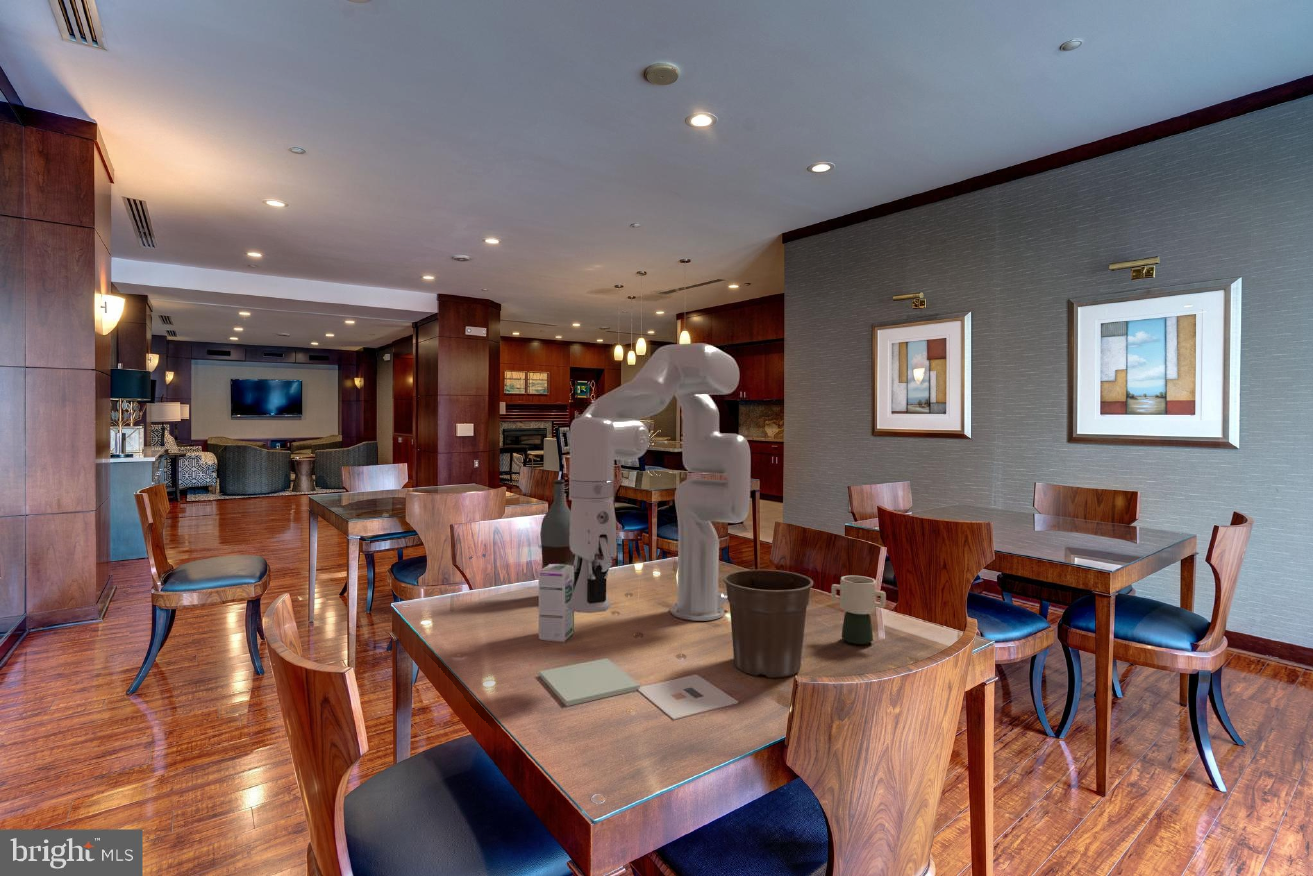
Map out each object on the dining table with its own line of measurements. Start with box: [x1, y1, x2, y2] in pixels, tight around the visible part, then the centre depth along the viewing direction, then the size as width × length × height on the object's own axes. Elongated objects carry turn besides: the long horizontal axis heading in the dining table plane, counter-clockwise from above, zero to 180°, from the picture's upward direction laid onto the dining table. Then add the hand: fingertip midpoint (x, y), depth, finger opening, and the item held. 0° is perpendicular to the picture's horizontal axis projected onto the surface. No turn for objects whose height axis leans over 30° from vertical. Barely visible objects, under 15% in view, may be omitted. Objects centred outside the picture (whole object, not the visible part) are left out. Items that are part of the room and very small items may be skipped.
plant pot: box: [723, 569, 814, 679], centre depth 111 cm, size 16×16×16 cm
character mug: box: [830, 575, 887, 645], centre depth 125 cm, size 11×7×13 cm, turn 58°
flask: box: [568, 556, 611, 614], centre depth 102 cm, size 7×7×10 cm
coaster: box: [538, 658, 641, 707], centre depth 103 cm, size 13×13×1 cm
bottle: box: [539, 479, 575, 572], centre depth 152 cm, size 9×9×30 cm
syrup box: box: [538, 564, 575, 643], centre depth 125 cm, size 6×6×14 cm
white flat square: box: [637, 674, 739, 721], centre depth 98 cm, size 12×12×1 cm
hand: (589, 596), depth 102 cm, fingers closed on flask, 4 cm apart
